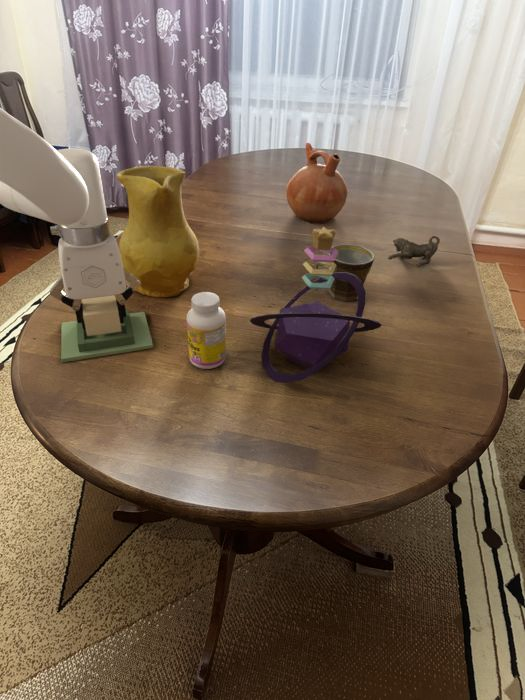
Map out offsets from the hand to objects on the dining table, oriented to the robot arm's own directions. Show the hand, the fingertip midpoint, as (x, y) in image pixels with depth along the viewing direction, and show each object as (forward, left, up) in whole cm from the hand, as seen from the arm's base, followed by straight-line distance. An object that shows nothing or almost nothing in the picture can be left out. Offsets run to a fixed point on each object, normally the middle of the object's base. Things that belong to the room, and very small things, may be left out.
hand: (103, 321), depth 87 cm
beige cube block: (0, 0, -1) cm, 1 cm away
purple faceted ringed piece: (+35, -17, -4) cm, 39 cm away
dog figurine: (+77, +14, -4) cm, 78 cm away
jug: (+65, +49, -4) cm, 82 cm away
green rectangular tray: (0, 0, -4) cm, 4 cm away
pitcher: (+14, +19, -4) cm, 24 cm away
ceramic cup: (+51, +3, -4) cm, 51 cm away
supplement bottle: (+17, -12, -4) cm, 21 cm away
